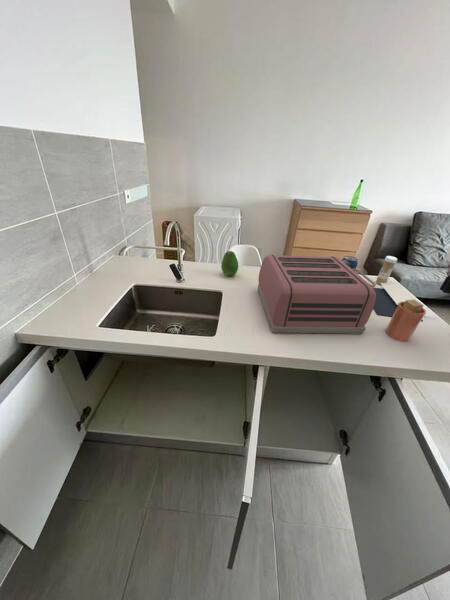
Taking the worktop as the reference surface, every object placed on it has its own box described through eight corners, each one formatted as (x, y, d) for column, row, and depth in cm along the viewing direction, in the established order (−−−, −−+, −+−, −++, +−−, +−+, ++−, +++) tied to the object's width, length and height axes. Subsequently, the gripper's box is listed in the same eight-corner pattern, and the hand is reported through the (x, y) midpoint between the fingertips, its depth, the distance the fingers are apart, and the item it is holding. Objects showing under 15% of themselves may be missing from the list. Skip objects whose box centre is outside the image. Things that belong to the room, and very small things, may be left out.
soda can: (340, 285, 113) (348, 261, 107) (332, 278, 119) (339, 255, 113) (353, 284, 114) (362, 260, 108) (344, 278, 120) (352, 255, 114)
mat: (396, 291, 111) (397, 290, 111) (422, 321, 91) (423, 320, 91) (359, 286, 113) (360, 285, 113) (377, 315, 93) (377, 314, 93)
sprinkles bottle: (373, 281, 118) (383, 255, 111) (380, 281, 119) (391, 255, 112) (380, 286, 114) (391, 259, 107) (388, 285, 115) (400, 259, 108)
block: (410, 308, 80) (414, 299, 78) (418, 314, 77) (423, 305, 75) (401, 308, 80) (405, 300, 78) (409, 314, 77) (414, 305, 75)
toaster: (376, 334, 82) (397, 290, 73) (270, 334, 80) (279, 288, 71) (336, 291, 108) (349, 254, 99) (255, 289, 106) (260, 251, 97)
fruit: (235, 280, 112) (237, 255, 106) (219, 277, 114) (220, 253, 108) (238, 273, 119) (241, 249, 113) (223, 270, 120) (224, 247, 114)
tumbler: (404, 329, 86) (418, 303, 80) (414, 343, 80) (430, 315, 74) (382, 326, 87) (394, 300, 81) (390, 339, 81) (404, 312, 75)
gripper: (540, 231, 47) (483, 309, 57) (485, 215, 60) (446, 281, 70) (497, 227, 48) (448, 304, 58) (452, 212, 61) (418, 277, 71)
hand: (447, 291), depth 64 cm, fingers closed
